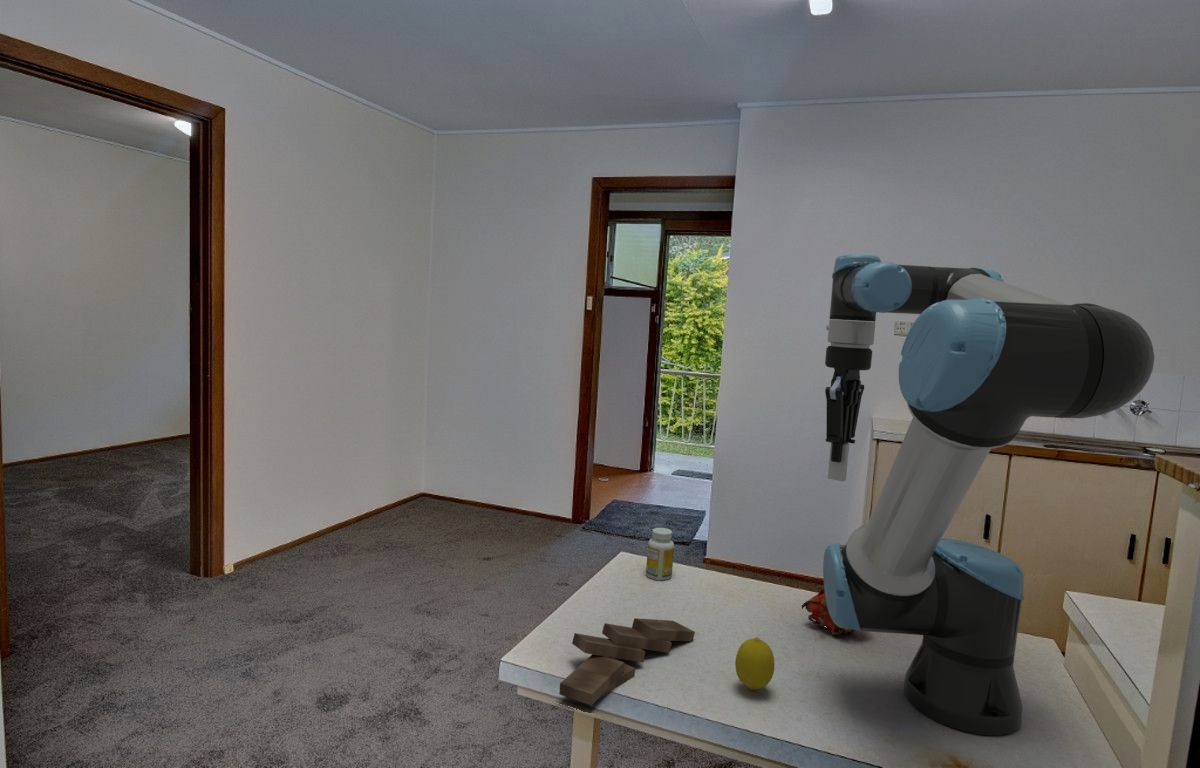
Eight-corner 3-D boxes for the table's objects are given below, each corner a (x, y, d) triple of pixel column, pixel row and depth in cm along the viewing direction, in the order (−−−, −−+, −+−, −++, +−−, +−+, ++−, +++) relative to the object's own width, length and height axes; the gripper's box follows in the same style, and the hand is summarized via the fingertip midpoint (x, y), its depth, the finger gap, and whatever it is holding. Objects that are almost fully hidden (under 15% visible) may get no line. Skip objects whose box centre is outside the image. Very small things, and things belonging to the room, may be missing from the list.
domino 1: (645, 651, 106) (587, 642, 102) (642, 662, 106) (585, 653, 102) (630, 642, 110) (574, 633, 107) (628, 652, 110) (571, 643, 106)
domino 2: (635, 668, 103) (591, 694, 96) (634, 678, 103) (591, 705, 96) (608, 656, 106) (565, 681, 99) (608, 666, 107) (564, 691, 99)
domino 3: (624, 662, 102) (592, 694, 93) (623, 672, 102) (591, 705, 93) (593, 652, 104) (559, 683, 95) (593, 662, 104) (559, 694, 95)
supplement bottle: (646, 580, 140) (649, 534, 139) (645, 570, 145) (648, 525, 144) (672, 581, 140) (676, 535, 139) (671, 571, 145) (674, 527, 144)
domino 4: (671, 642, 110) (620, 634, 106) (669, 652, 110) (617, 645, 106) (655, 631, 115) (604, 623, 110) (652, 641, 115) (601, 633, 110)
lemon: (772, 703, 98) (777, 649, 97) (733, 697, 99) (737, 643, 98) (771, 683, 104) (775, 632, 103) (733, 677, 105) (737, 626, 104)
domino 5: (695, 631, 115) (656, 629, 109) (692, 641, 115) (653, 640, 109) (672, 620, 119) (634, 618, 112) (670, 629, 119) (631, 627, 112)
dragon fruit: (876, 650, 119) (803, 644, 124) (874, 606, 125) (805, 602, 130) (874, 623, 114) (798, 618, 118) (872, 578, 120) (800, 575, 125)
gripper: (841, 343, 127) (829, 469, 130) (814, 344, 117) (801, 481, 120) (883, 347, 123) (870, 477, 125) (858, 348, 112) (844, 490, 115)
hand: (836, 479), depth 122 cm, fingers closed
